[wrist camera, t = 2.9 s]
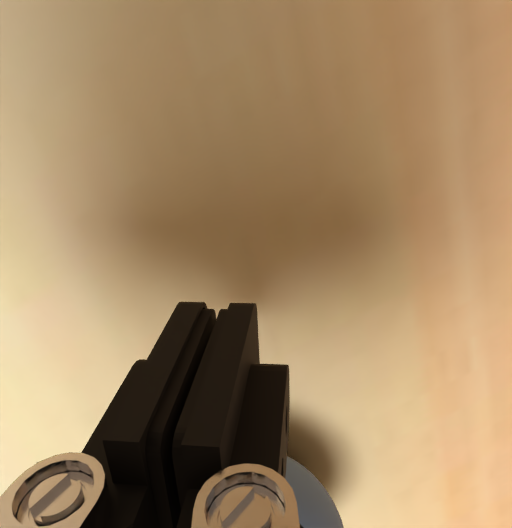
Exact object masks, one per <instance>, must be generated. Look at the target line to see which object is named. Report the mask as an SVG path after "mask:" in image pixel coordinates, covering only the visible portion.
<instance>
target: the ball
mask: <svg viewBox="0 0 512 528" xmlns="http://www.w3.org/2000/svg"><path fill="white" fill-rule="evenodd" d="M285 479H286V481H287V482H288V483H289V485H290V486H291V487H292V489H293V492H294V495H295V499H296V502H297V509H298V516H299V523H300V524H301V525H302V526H303V527H304V528H343V524H342V520H341V518H340V515H339V513H338V510H337V508H336V506H335V504H334V502H333V500H332V498H331V497H330V495H329V493H328V492H327V490H326V489H325V487H324V486H323V485H322V484H321V483H320V481H319V480H318V479H317V478H316V477H315V476H314V475H313V474H312V473H311V472H310V471H309V470H308V469H306V468H305V467H304V466H303V465H301V464H300V463H298V462H297V461H295V460H294V459H292V458H290V457H288V456H287V463H286V477H285Z"/></svg>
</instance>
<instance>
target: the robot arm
mask: <svg viewBox="0 0 512 528" xmlns="http://www.w3.org/2000/svg"><path fill="white" fill-rule="evenodd" d="M288 433H289V366H288V365H277V364H260V361H259V341H258V321H257V307H256V304H255V303H230V305H229V307H228V309H221V310H220V311H219V314H218V317H217V319H216V315H215V310H214V309H207V306H206V304H205V302H179V303H178V304H177V306H176V308H175V310H174V312H173V313H172V315H171V317H170V319H169V321H168V322H167V324H166V326H165V328H164V330H163V331H162V333H161V335H160V337H159V339H158V340H157V342H156V344H155V346H154V348H153V349H152V351H151V353H150V355H149V357H148V358H147V360H138V361H136V362H135V364H134V365H133V366H132V368H131V370H130V371H129V373H128V375H127V376H126V378H125V380H124V381H123V383H122V385H121V386H120V388H119V390H118V392H117V393H116V395H115V397H114V398H113V400H112V402H111V403H110V405H109V407H108V409H107V410H106V412H105V414H104V415H103V417H102V419H101V420H100V422H99V424H98V426H97V427H96V429H95V431H94V432H93V434H92V436H91V437H90V439H89V441H88V442H87V444H86V446H85V448H84V449H83V451H82V453H73V452H69V453H64V454H59V455H54V456H52V457H49V458H47V459H44V460H42V461H40V462H38V463H37V464H35V465H33V466H32V467H30V468H29V469H27V470H26V471H25V472H24V473H22V474H21V475H20V476H19V477H18V478H17V479H16V480H15V481H14V482H13V483H12V484H11V485H10V486H9V487H8V489H7V490H6V491H5V492H4V493H3V494H2V495H1V497H0V528H304V527H303V526H302V525H301V524H300V523H299V516H298V509H297V502H296V499H295V495H294V492H293V489H292V487H291V486H290V485H289V483H288V482H287V481H286V479H285V477H286V463H287V448H288Z"/></svg>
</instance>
